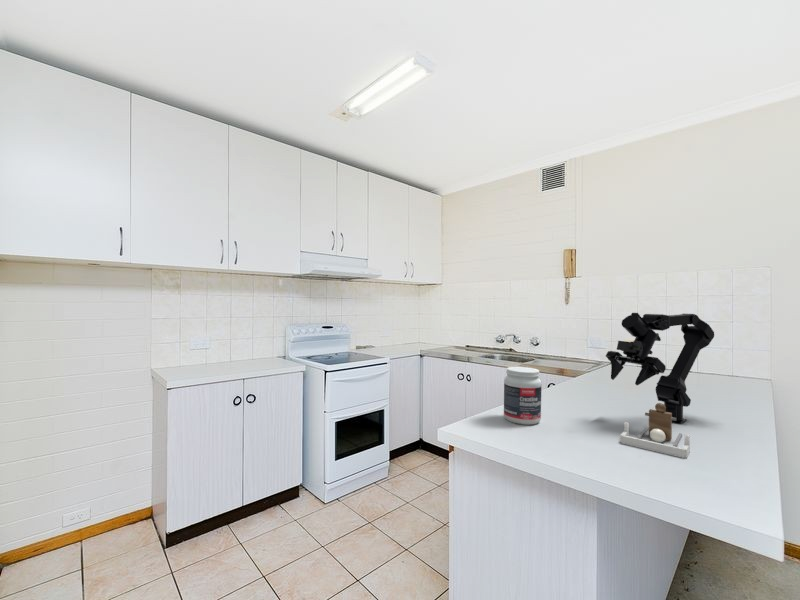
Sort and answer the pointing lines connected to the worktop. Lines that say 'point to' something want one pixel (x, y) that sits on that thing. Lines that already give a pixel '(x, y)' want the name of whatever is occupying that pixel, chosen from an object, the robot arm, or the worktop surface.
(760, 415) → the worktop surface
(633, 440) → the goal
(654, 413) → the figure
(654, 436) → the ball
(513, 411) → the supplement tub
